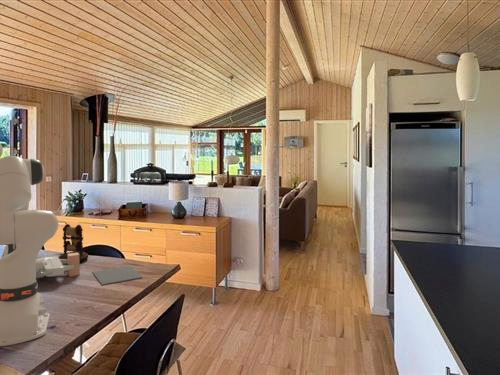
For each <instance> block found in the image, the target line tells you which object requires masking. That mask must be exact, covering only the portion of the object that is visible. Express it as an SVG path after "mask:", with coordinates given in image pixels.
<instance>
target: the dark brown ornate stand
mask: <svg viewBox="0 0 500 375" xmlns="http://www.w3.org/2000/svg"><path fill="white" fill-rule="evenodd" d="M83 230H84V229H83V227H82V225H81V224H76V226H75V227H73V226H71V225H70V224H69V223H67V224H65V225H64V227H63V228H62V231H63V234H62V235H63V236H62V239H63V245H62V247H63V253H62V254H61V255H59V256H57V257H58V258H59V259H68V258H67V254H70V253H78V254H79V262H80V261H85V260H86V259H88V258H89V254H88V253H86V252H85V251H83V248H84V245H83V240H84V236H83Z"/></svg>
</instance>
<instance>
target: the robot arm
mask: <svg viewBox="0 0 500 375" xmlns="http://www.w3.org/2000/svg"><path fill="white" fill-rule="evenodd" d="M45 171H46V170H45V167H44V165H43V163H42V161H41V160H40V159H35V158H30V159H29V158H21V157H19V156H16V155H7V156H4V157H2V158H0V246H4V245H5V246H4V249H3V253H2V255H1V258H0V347H6V346H11V345H12V346H13V345H17V344H21V343H24V342H29V341H32V340H35V339H37V338H40V337H42V336H44V335H46V333H47V329H48V326H49V322H50V318H51V316H50V313H49V312H47V311H46V307H44V305H45V301H44V299H43V294H42V293H40V292H38V291H39V290H38V288H39V287H38V286H39V284H38V280H37V279H42V278H44V277H58V276H62V275H64V274H65V272H66V271H68V270H69V269H73V268H74V265H73V264H69V265H68V259H59V258H58V257H59V256H46V257H45V256H44V257H42V256H38V255H39V252H40V250H41V249H42V248H43V247H44V246H45V244H46V243H47V242H48V241H49V240H50V239H53V237H54V236H55V235H56V234H57V231H58V229H59V221H58V218H57V216H56V214H55V213H54V212H52V211H51V210H44V209H29V207H30V206H29V205H30V201H31V199H32V187H31V186H34V185H35V186H36V185H38V184H40V183H41V182H43V179H44V177H45V174H46V173H45ZM64 264H65V265H64Z"/></svg>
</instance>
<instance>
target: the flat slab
mask: <svg viewBox="0 0 500 375" xmlns="http://www.w3.org/2000/svg"><path fill="white" fill-rule="evenodd" d="M92 274H93V276H94V277H95V278H96V279H97V281H98V282H99V284H100V285H101V286H105V285H106V284H107V285H109V284H110V285H111V284H116V283H121V282H128V281H133V280H138V279H142V278H143V276H142V275H141V274H140V273H138V272H137V271H136V270H135V269H134V268H133V267H131V266H130V265H127V266H125V265H124V266H119V267H114V268H108V269H102V270H100V269H99V270H96V271H95V270H94V271H92Z"/></svg>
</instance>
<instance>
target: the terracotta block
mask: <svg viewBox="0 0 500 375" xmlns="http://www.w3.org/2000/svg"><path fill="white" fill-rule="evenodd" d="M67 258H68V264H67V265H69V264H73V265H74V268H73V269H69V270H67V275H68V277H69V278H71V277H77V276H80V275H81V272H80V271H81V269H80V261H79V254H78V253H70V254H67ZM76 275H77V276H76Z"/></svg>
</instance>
